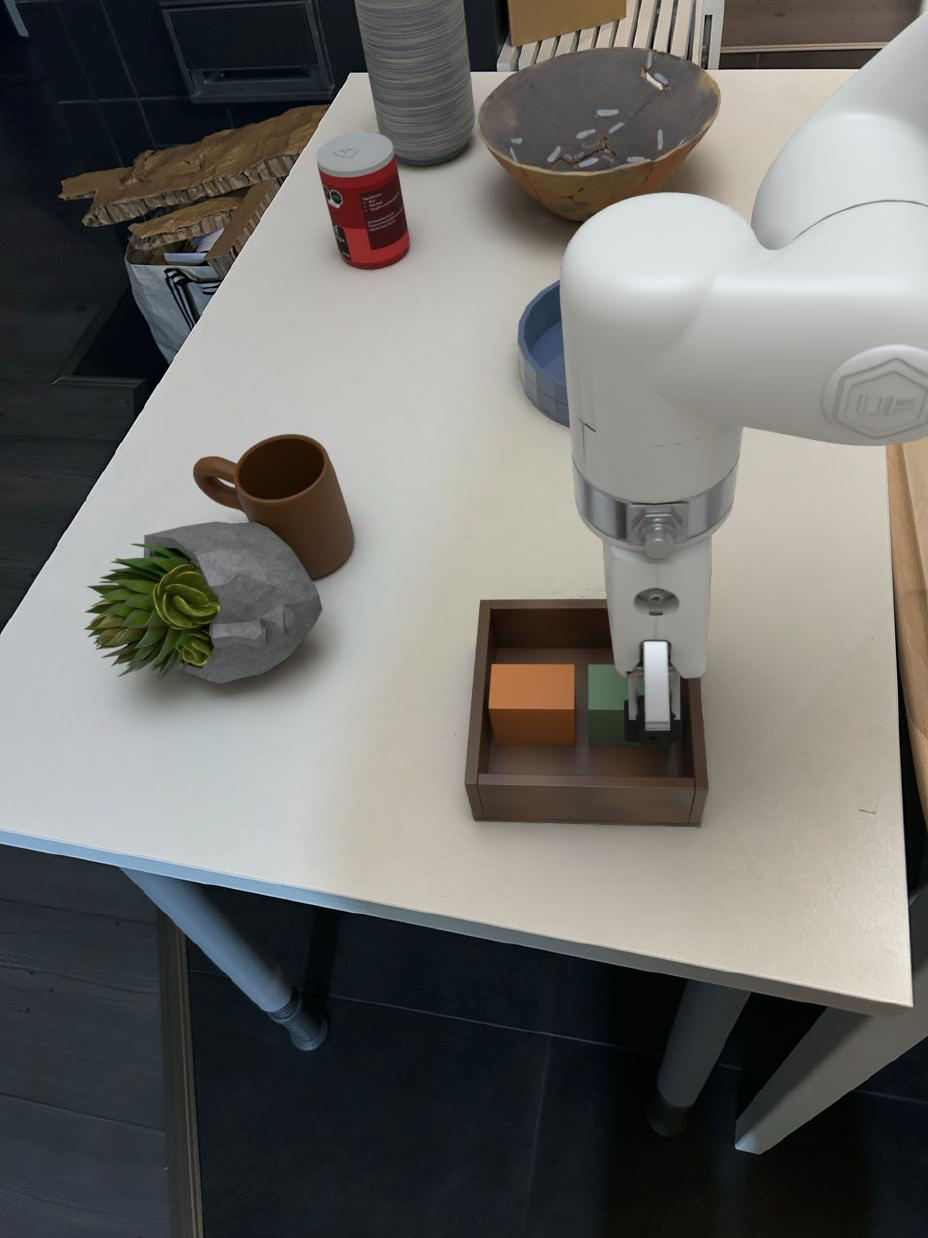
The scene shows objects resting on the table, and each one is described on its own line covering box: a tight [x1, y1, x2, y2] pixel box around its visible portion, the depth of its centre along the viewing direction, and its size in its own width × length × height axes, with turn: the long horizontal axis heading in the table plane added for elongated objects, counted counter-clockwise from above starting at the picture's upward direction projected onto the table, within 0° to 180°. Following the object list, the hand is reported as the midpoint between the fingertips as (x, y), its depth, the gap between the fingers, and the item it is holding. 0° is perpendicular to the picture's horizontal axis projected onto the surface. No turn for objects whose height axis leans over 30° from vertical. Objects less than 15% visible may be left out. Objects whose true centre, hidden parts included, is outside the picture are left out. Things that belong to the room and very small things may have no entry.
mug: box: [192, 433, 355, 580], centre depth 73 cm, size 12×8×9 cm, turn 73°
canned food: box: [316, 131, 410, 270], centre depth 96 cm, size 8×8×11 cm
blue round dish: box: [517, 279, 570, 428], centre depth 83 cm, size 18×18×4 cm
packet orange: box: [489, 664, 576, 746], centre depth 62 cm, size 6×3×5 cm, turn 86°
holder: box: [463, 598, 710, 828], centre depth 61 cm, size 15×14×6 cm
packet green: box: [588, 665, 672, 747], centre depth 61 cm, size 6×3×5 cm, turn 85°
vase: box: [353, 0, 476, 167], centre depth 103 cm, size 12×12×23 cm
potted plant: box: [83, 521, 323, 685], centre depth 66 cm, size 12×13×15 cm
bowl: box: [477, 46, 722, 223], centre depth 98 cm, size 25×25×10 cm
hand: (649, 667), depth 57 cm, fingers open, 9 cm apart
